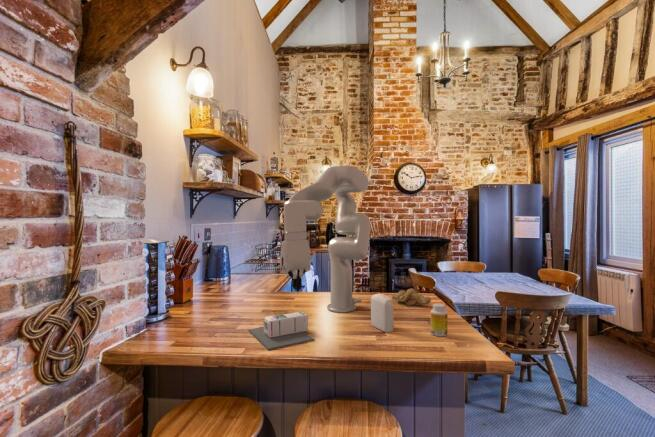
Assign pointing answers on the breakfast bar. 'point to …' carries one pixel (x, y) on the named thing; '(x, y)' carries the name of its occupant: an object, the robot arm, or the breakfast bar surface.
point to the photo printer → (382, 312)
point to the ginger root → (411, 298)
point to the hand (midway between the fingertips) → (296, 289)
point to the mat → (279, 339)
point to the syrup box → (285, 324)
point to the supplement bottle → (439, 320)
